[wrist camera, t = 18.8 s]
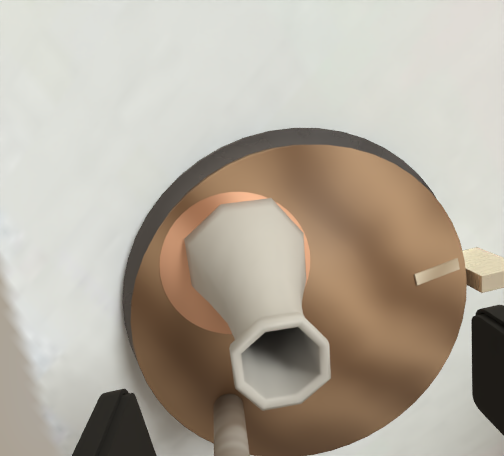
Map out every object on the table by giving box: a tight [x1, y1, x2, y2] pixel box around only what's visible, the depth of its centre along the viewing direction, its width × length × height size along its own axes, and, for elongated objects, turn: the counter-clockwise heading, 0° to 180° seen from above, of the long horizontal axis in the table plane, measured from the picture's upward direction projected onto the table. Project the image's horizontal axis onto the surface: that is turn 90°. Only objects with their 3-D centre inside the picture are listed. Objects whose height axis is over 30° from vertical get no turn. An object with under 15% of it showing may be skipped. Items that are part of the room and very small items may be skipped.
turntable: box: [131, 145, 467, 456], centre depth 20 cm, size 22×22×7 cm
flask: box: [184, 198, 331, 411], centre depth 15 cm, size 7×7×10 cm
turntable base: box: [123, 128, 504, 359], centre depth 23 cm, size 26×24×4 cm
